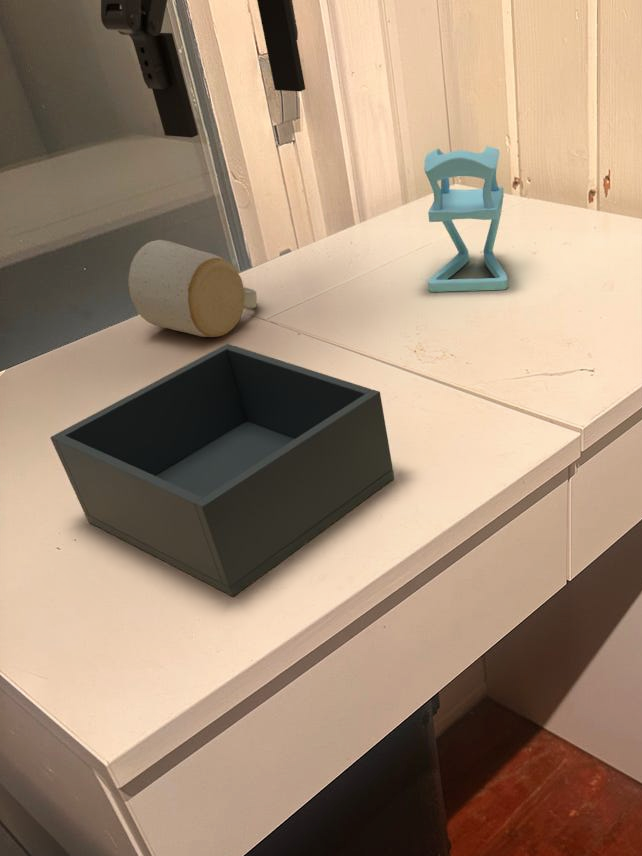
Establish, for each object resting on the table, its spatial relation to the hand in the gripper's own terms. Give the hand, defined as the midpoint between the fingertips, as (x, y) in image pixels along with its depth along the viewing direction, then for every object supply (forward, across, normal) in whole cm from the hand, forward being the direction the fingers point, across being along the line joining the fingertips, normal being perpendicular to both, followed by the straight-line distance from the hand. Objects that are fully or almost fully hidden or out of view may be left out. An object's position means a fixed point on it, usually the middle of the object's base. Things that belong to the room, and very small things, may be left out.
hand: (239, 111), depth 73 cm
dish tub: (+18, -25, -15) cm, 34 cm away
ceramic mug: (+18, -2, +8) cm, 20 cm away
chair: (+18, +16, -11) cm, 27 cm away
